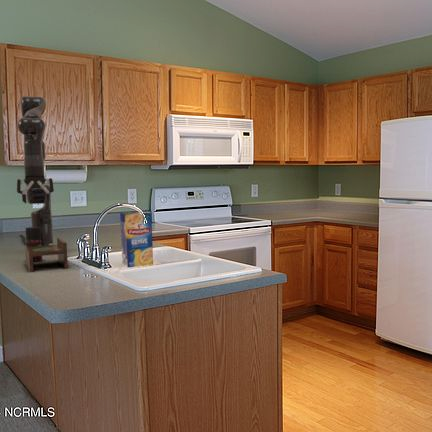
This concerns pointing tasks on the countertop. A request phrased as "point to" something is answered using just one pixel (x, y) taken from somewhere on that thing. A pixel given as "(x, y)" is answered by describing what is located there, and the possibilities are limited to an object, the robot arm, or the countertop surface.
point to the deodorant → (34, 240)
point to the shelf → (47, 253)
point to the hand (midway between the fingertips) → (36, 202)
